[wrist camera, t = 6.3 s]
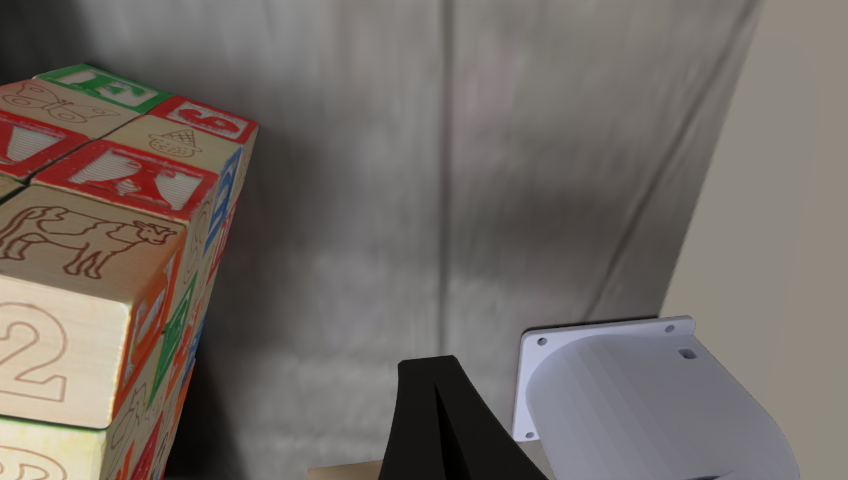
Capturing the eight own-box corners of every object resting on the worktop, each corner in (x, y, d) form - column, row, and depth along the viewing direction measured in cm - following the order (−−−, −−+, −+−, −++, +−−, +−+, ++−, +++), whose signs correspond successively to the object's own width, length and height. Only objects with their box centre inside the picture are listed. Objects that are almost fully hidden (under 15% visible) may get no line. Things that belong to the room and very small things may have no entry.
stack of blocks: (167, 477, 27) (43, 808, 16) (39, 460, 25) (-198, 820, 14) (261, 118, 18) (132, 310, 8) (78, 55, 17) (-427, 187, 6)
